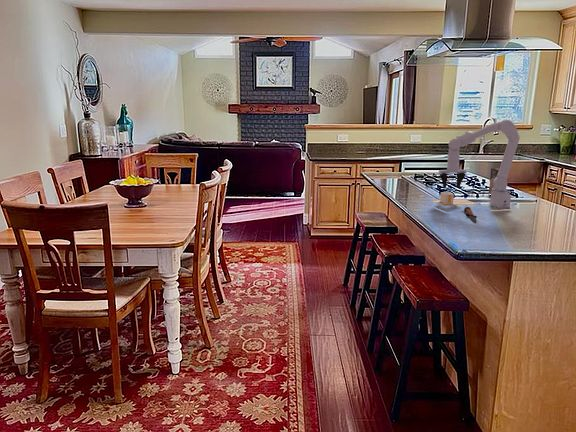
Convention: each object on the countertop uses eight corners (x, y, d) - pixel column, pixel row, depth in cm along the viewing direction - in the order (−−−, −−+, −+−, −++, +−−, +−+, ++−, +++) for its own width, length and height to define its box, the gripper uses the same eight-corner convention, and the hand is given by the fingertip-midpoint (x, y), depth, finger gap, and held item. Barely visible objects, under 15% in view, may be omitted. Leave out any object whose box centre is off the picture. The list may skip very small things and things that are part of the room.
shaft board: (478, 206, 235) (479, 197, 234) (443, 207, 231) (444, 199, 230) (461, 200, 250) (462, 192, 249) (428, 201, 246) (429, 193, 245)
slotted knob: (440, 201, 242) (440, 192, 241) (447, 201, 243) (448, 192, 242) (445, 203, 236) (446, 194, 235) (453, 203, 237) (454, 193, 236)
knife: (484, 223, 196) (472, 221, 197) (482, 230, 197) (470, 227, 198) (473, 207, 220) (463, 205, 221) (471, 213, 221) (461, 211, 222)
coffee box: (487, 195, 265) (490, 168, 262) (498, 195, 265) (501, 168, 261) (494, 198, 256) (497, 170, 253) (505, 198, 256) (508, 170, 253)
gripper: (443, 162, 231) (441, 188, 235) (470, 162, 233) (468, 188, 236) (437, 161, 238) (435, 186, 241) (463, 160, 240) (461, 186, 243)
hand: (451, 187), depth 239 cm, fingers open, 7 cm apart
